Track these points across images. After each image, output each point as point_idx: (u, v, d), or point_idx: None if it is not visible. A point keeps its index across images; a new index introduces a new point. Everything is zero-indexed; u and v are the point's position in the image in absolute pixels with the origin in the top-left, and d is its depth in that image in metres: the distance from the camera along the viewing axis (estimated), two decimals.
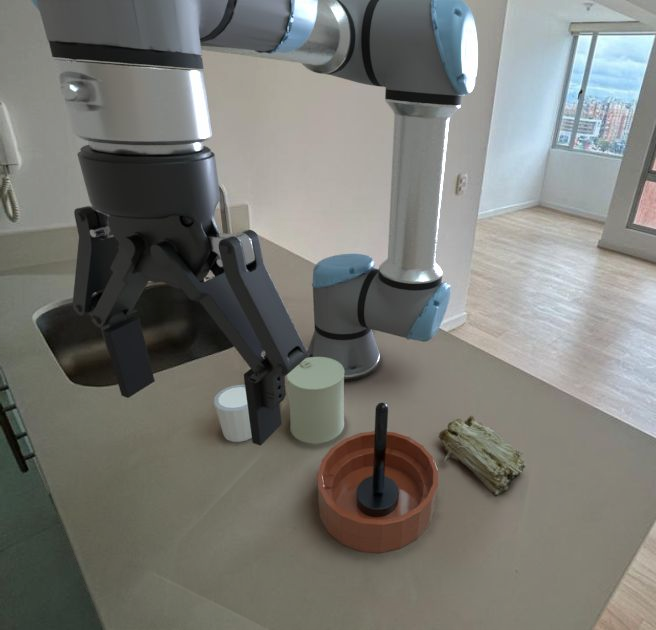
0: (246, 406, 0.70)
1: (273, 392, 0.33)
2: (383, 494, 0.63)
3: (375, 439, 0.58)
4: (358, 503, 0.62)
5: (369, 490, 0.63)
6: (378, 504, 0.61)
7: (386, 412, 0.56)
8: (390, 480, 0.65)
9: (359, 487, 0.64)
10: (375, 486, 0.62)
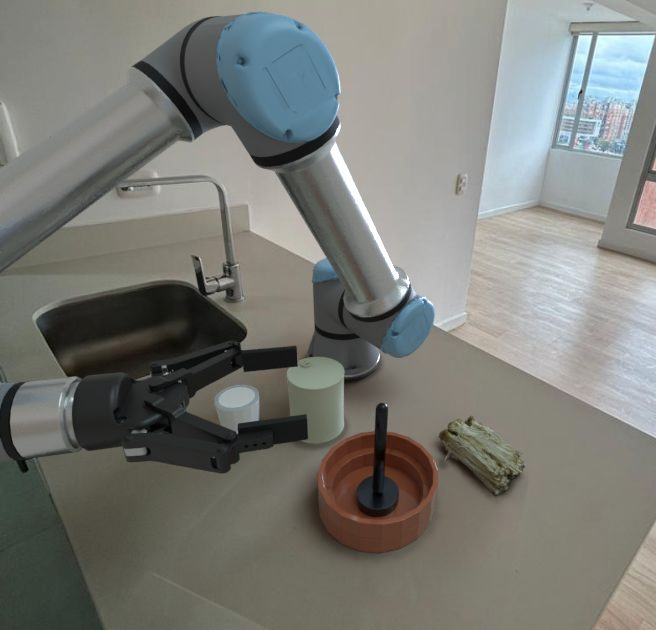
0: (246, 406, 0.70)
1: (255, 449, 0.43)
2: (383, 494, 0.63)
3: (375, 439, 0.58)
4: (358, 503, 0.62)
5: (369, 490, 0.63)
6: (378, 504, 0.61)
7: (386, 412, 0.56)
8: (390, 480, 0.65)
9: (359, 487, 0.64)
10: (375, 486, 0.62)
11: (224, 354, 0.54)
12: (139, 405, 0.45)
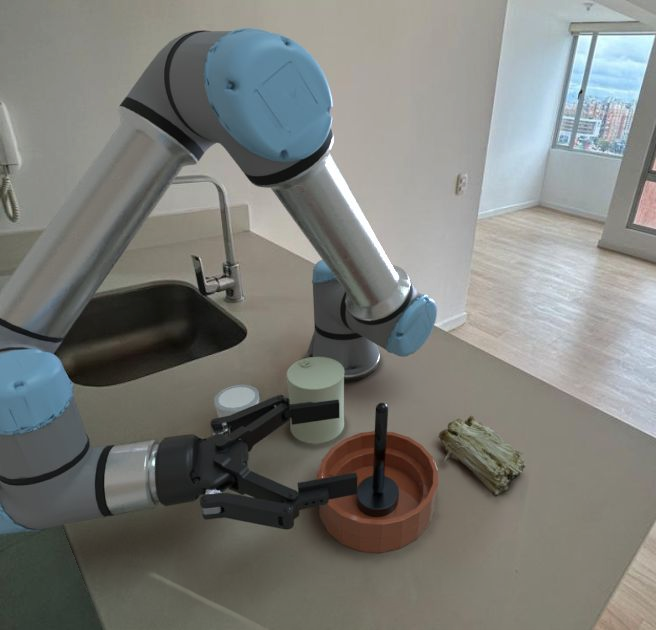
0: (246, 406, 0.70)
1: (313, 506, 0.49)
2: (383, 494, 0.63)
3: (375, 439, 0.58)
4: (358, 503, 0.62)
5: (369, 490, 0.63)
6: (378, 504, 0.61)
7: (386, 412, 0.56)
8: (390, 480, 0.65)
9: (359, 487, 0.64)
10: (375, 486, 0.62)
11: (275, 409, 0.60)
12: (209, 465, 0.51)
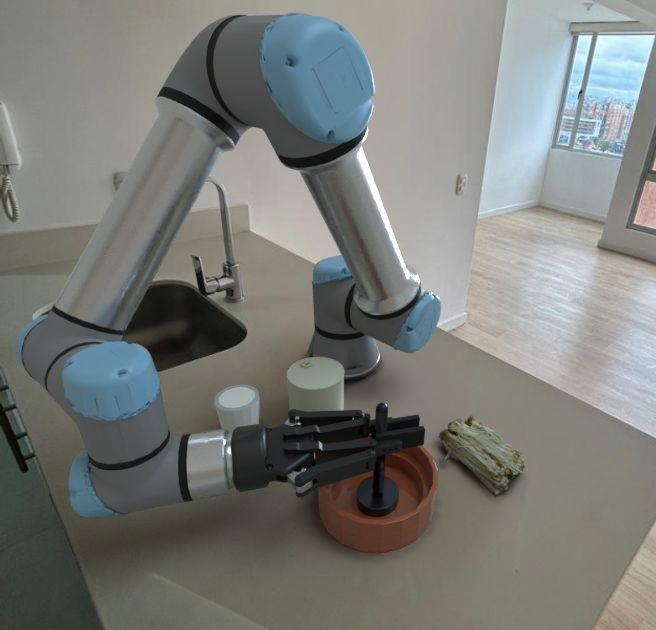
0: (246, 406, 0.70)
1: (389, 453, 0.57)
2: (383, 494, 0.63)
3: None
4: (358, 503, 0.62)
5: (369, 490, 0.63)
6: (378, 504, 0.61)
7: (386, 412, 0.56)
8: (390, 480, 0.65)
9: (359, 487, 0.64)
10: (375, 486, 0.62)
11: (354, 421, 0.59)
12: (279, 453, 0.53)
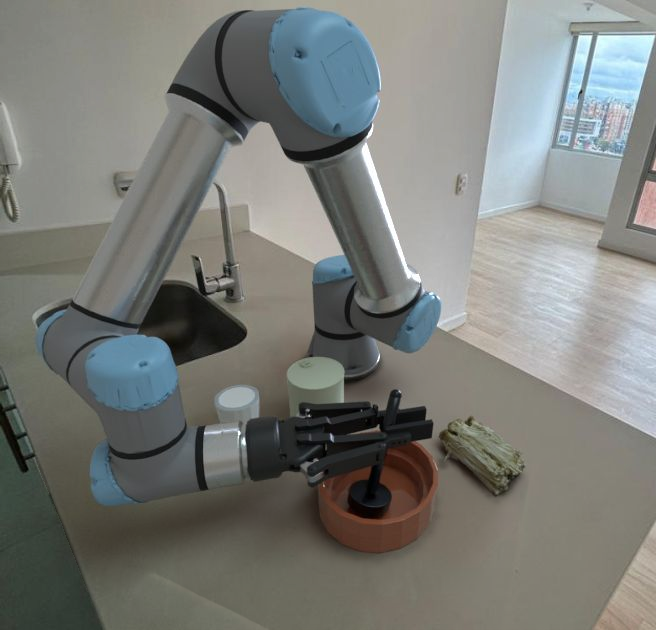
0: (246, 406, 0.70)
1: (398, 446, 0.58)
2: (376, 495, 0.62)
3: (382, 427, 0.60)
4: (349, 499, 0.61)
5: (362, 490, 0.62)
6: (371, 503, 0.60)
7: (399, 398, 0.59)
8: (384, 486, 0.64)
9: (352, 485, 0.62)
10: (370, 483, 0.61)
11: (362, 412, 0.61)
12: (292, 443, 0.55)
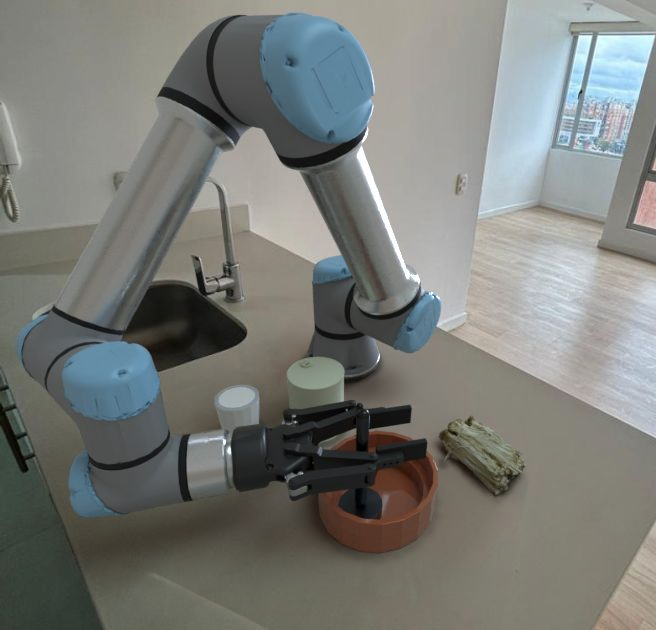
0: (246, 406, 0.70)
1: (390, 467, 0.55)
2: (364, 507, 0.60)
3: (356, 445, 0.57)
4: None
5: (352, 499, 0.62)
6: None
7: (365, 419, 0.55)
8: (378, 496, 0.62)
9: (345, 493, 0.62)
10: (355, 496, 0.60)
11: (348, 412, 0.60)
12: (279, 453, 0.53)
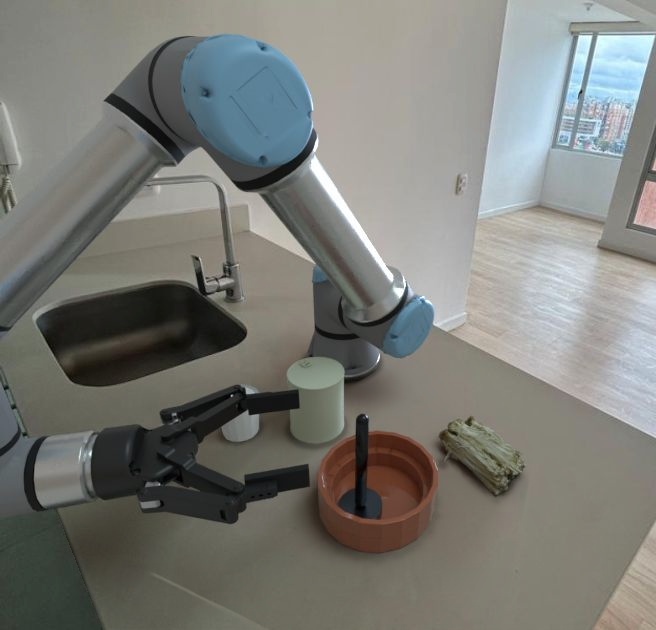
0: None
1: (261, 499, 0.46)
2: (364, 509, 0.60)
3: (355, 449, 0.56)
4: None
5: (352, 500, 0.62)
6: None
7: (364, 425, 0.54)
8: (378, 497, 0.62)
9: (345, 494, 0.62)
10: (355, 498, 0.60)
11: (230, 399, 0.57)
12: (152, 456, 0.48)
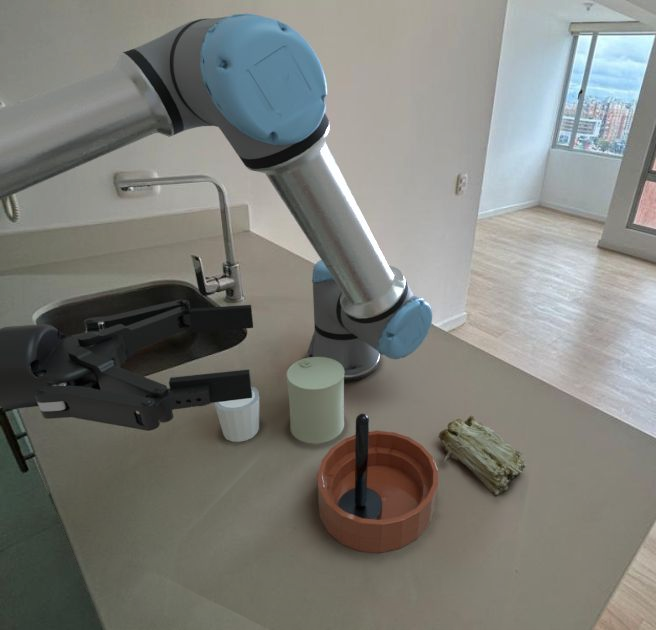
0: (246, 406, 0.70)
1: (189, 406, 0.39)
2: (364, 509, 0.60)
3: (355, 449, 0.56)
4: None
5: (352, 500, 0.62)
6: None
7: (364, 425, 0.54)
8: (378, 497, 0.62)
9: (345, 494, 0.62)
10: (355, 498, 0.60)
11: (170, 312, 0.50)
12: (64, 359, 0.41)
